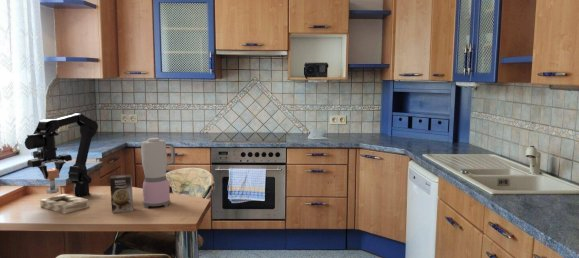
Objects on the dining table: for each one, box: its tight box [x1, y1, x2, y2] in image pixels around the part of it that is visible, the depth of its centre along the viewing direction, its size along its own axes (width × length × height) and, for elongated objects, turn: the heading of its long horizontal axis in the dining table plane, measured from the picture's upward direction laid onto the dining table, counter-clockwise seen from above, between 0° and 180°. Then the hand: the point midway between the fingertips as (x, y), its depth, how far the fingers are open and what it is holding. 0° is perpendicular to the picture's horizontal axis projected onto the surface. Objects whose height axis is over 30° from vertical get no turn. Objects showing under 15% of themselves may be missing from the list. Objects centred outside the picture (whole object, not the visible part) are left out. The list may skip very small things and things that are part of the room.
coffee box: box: [109, 174, 134, 214], centre depth 210 cm, size 9×6×16 cm
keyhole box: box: [39, 193, 90, 215], centre depth 217 cm, size 20×12×4 cm, turn 57°
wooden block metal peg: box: [46, 167, 60, 195], centre depth 221 cm, size 5×5×11 cm
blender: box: [139, 137, 176, 209], centre depth 216 cm, size 16×12×32 cm
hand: (51, 177), depth 220 cm, fingers closed on wooden block metal peg, 5 cm apart
